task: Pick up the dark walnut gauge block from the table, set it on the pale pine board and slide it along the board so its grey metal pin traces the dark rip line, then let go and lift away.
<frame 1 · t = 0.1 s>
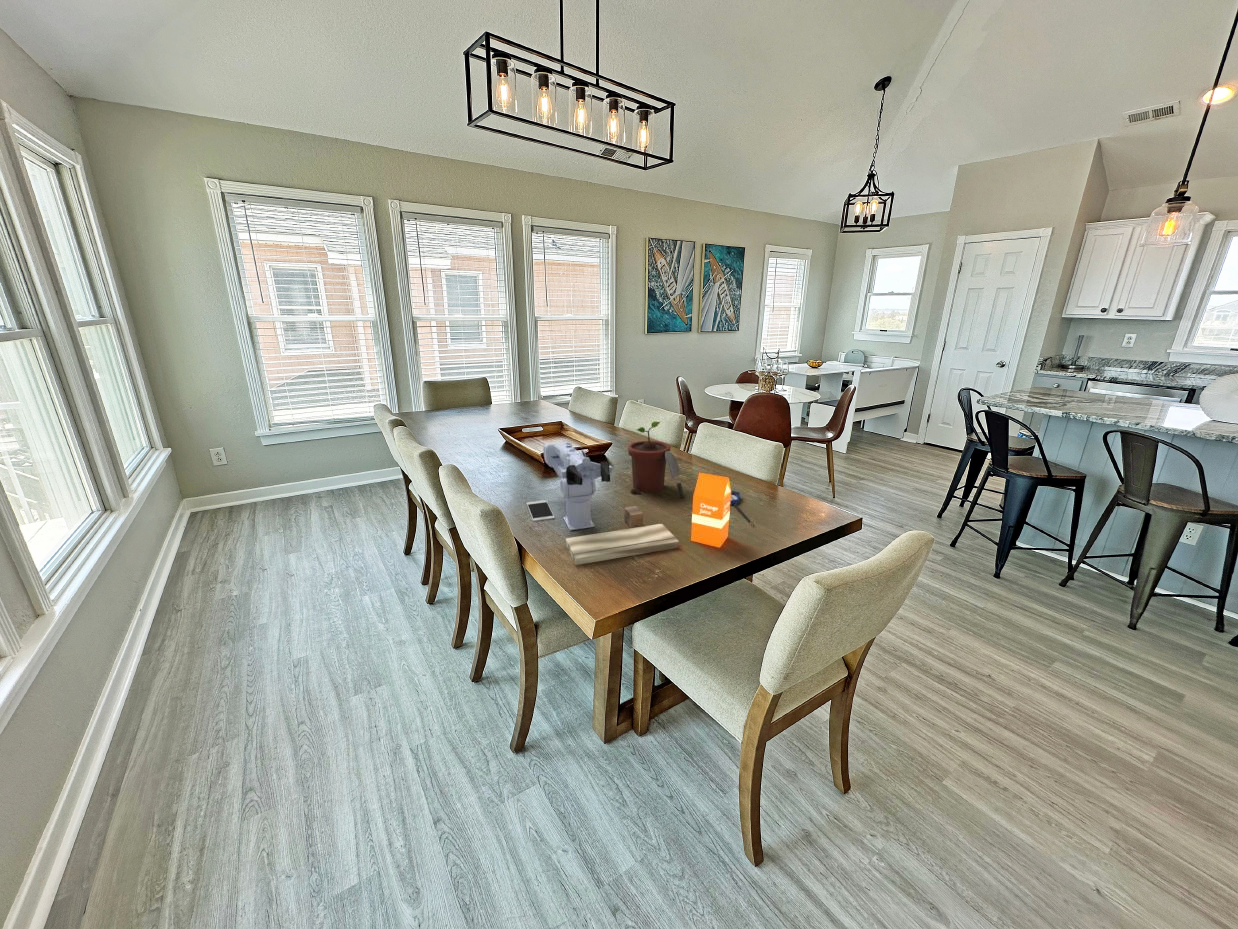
hand: (595, 479, 127), 22 cm above the table, tool horizontal, fingers open, 7 cm apart
pine board: (621, 546, 137), on the table
potted plant: (652, 489, 179), on the table
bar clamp: (738, 514, 159), on the table
orange juice: (709, 539, 141), on the table
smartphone: (540, 512, 161), on the table
gauge block: (633, 525, 150), on the table
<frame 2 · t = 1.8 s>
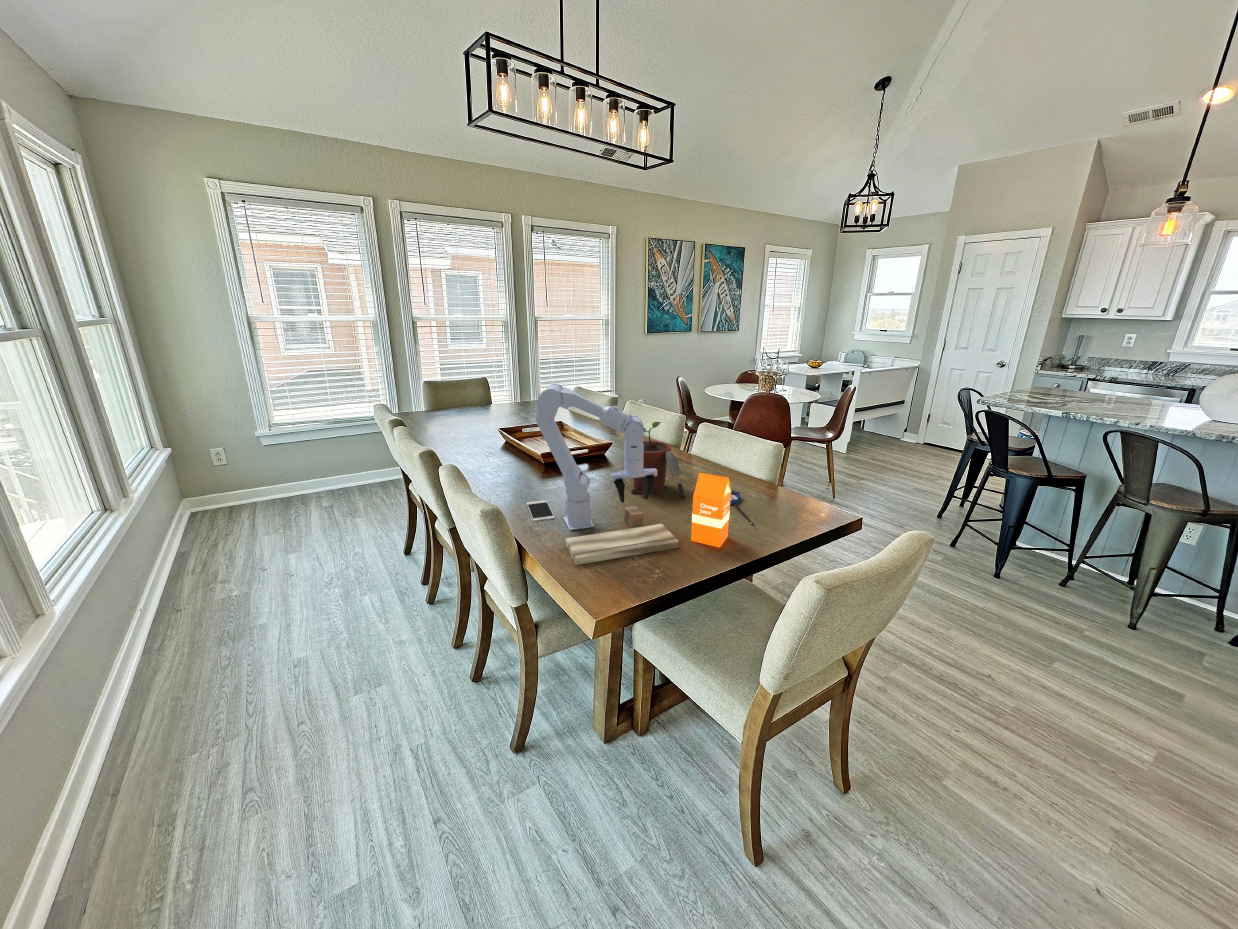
hand: (633, 499, 147), 8 cm above the table, tool pointing down, fingers open, 7 cm apart
nothing on the table moved.
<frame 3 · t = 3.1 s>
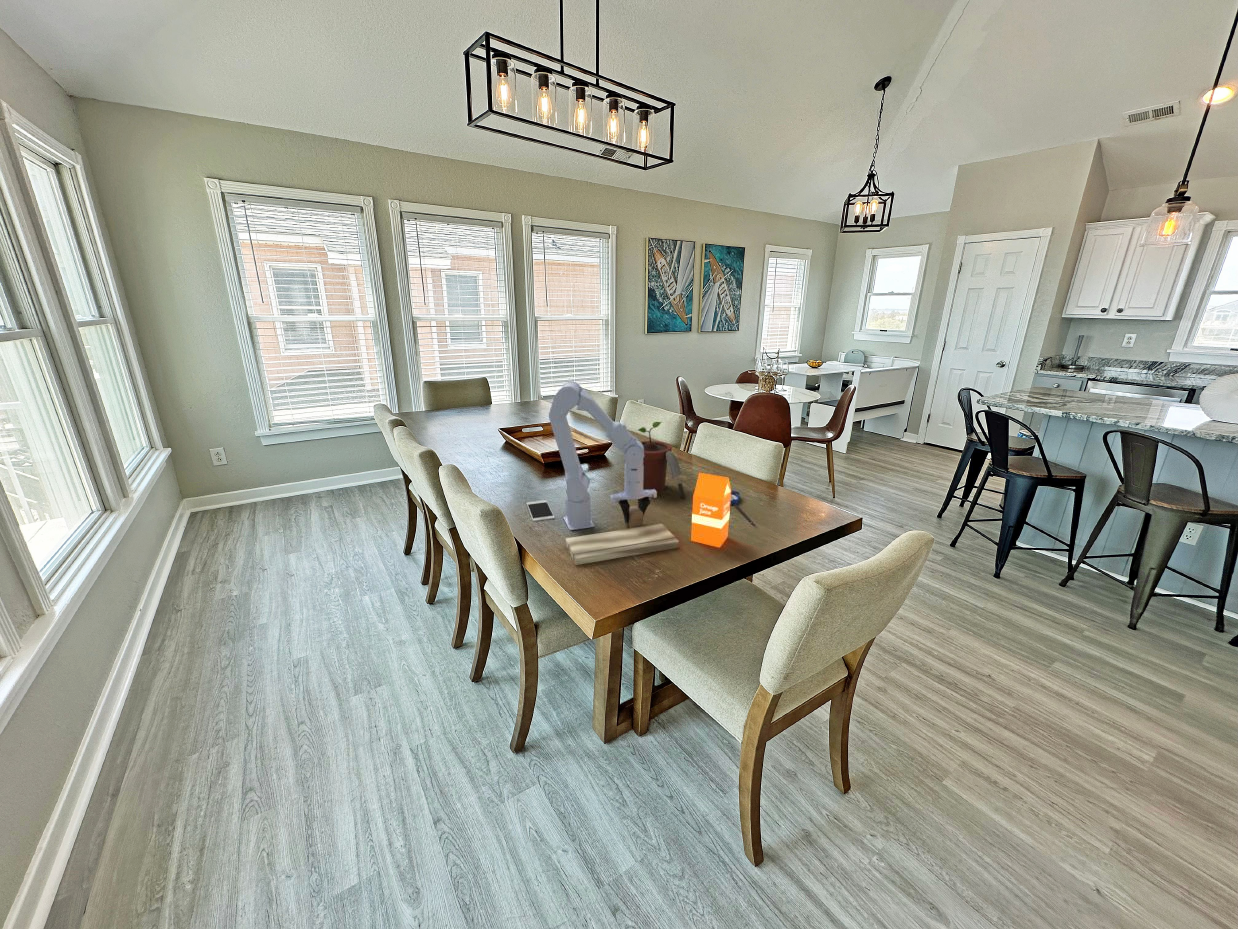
hand: (633, 520, 150), 1 cm above the table, tool pointing down, fingers closed on gauge block, 4 cm apart
gauge block: (633, 524, 150), on the table, touching gripper
everything else where it was.
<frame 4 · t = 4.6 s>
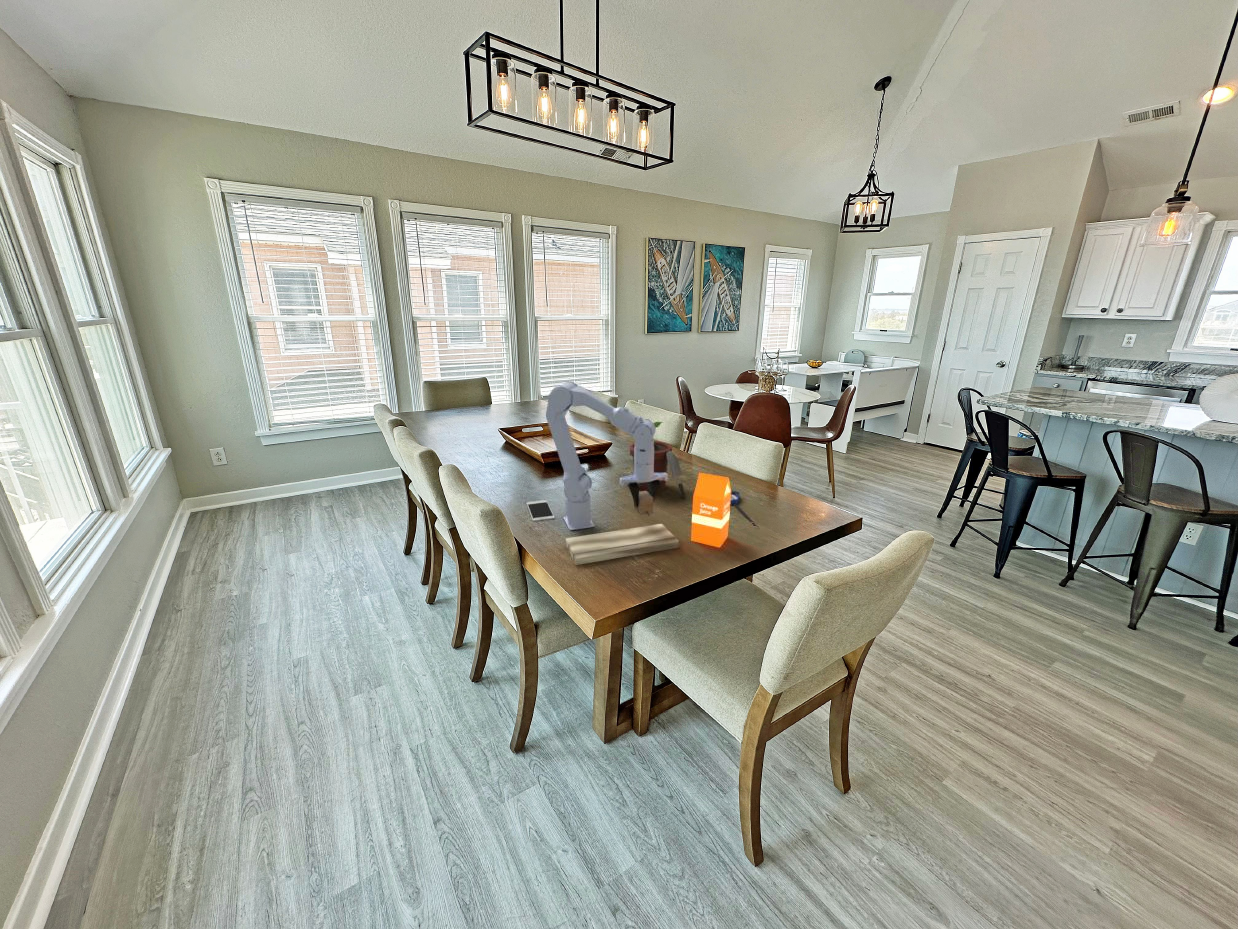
hand: (643, 504, 144), 9 cm above the table, tool pointing down, fingers closed on gauge block, 4 cm apart
gauge block: (643, 510, 144), point 7 cm above the table, touching gripper
everything else where it was.
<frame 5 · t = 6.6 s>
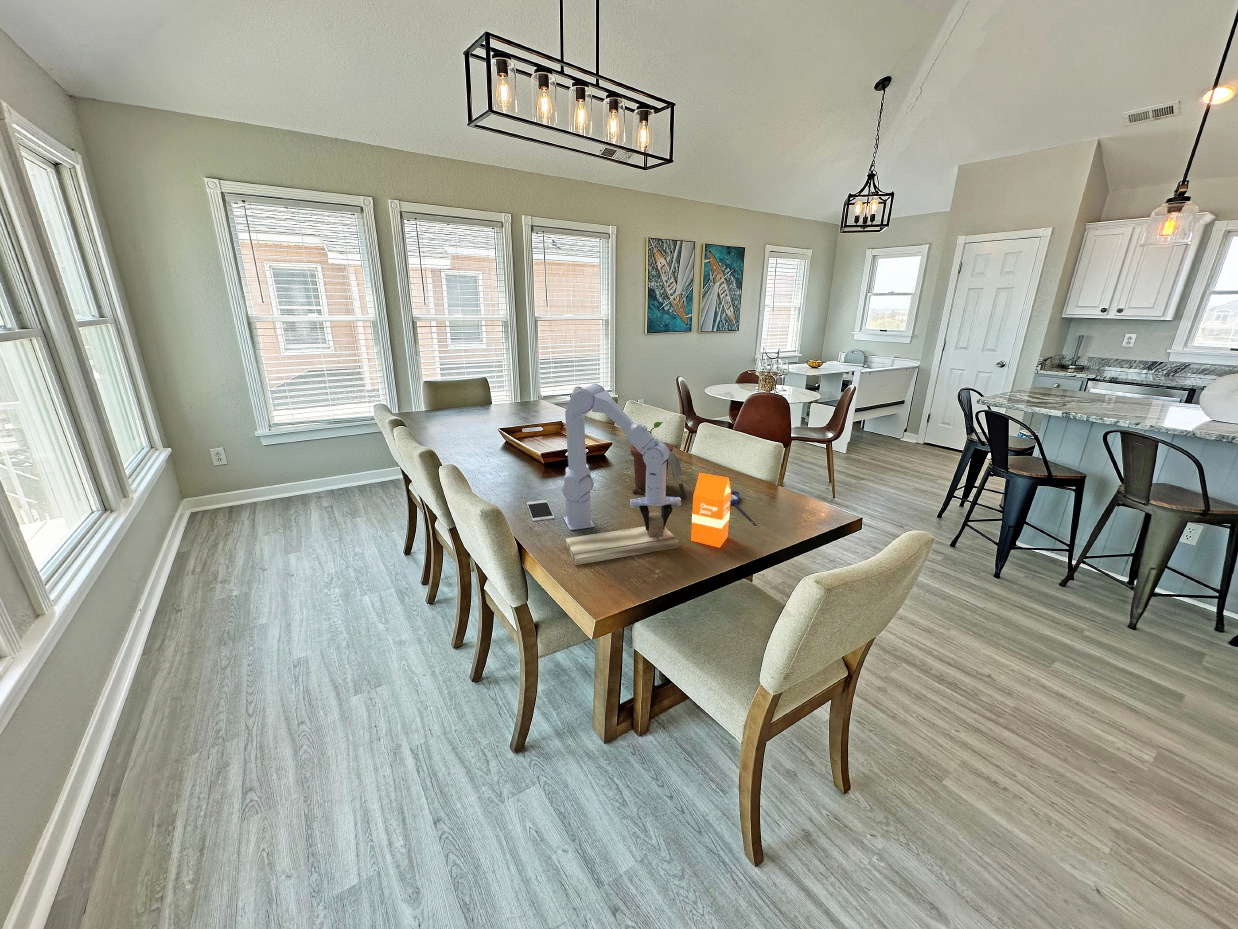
hand: (654, 528, 140), 3 cm above the table, tool pointing down, fingers closed on gauge block, 4 cm apart
gauge block: (654, 532, 141), point 2 cm above the table, touching gripper
everything else where it was.
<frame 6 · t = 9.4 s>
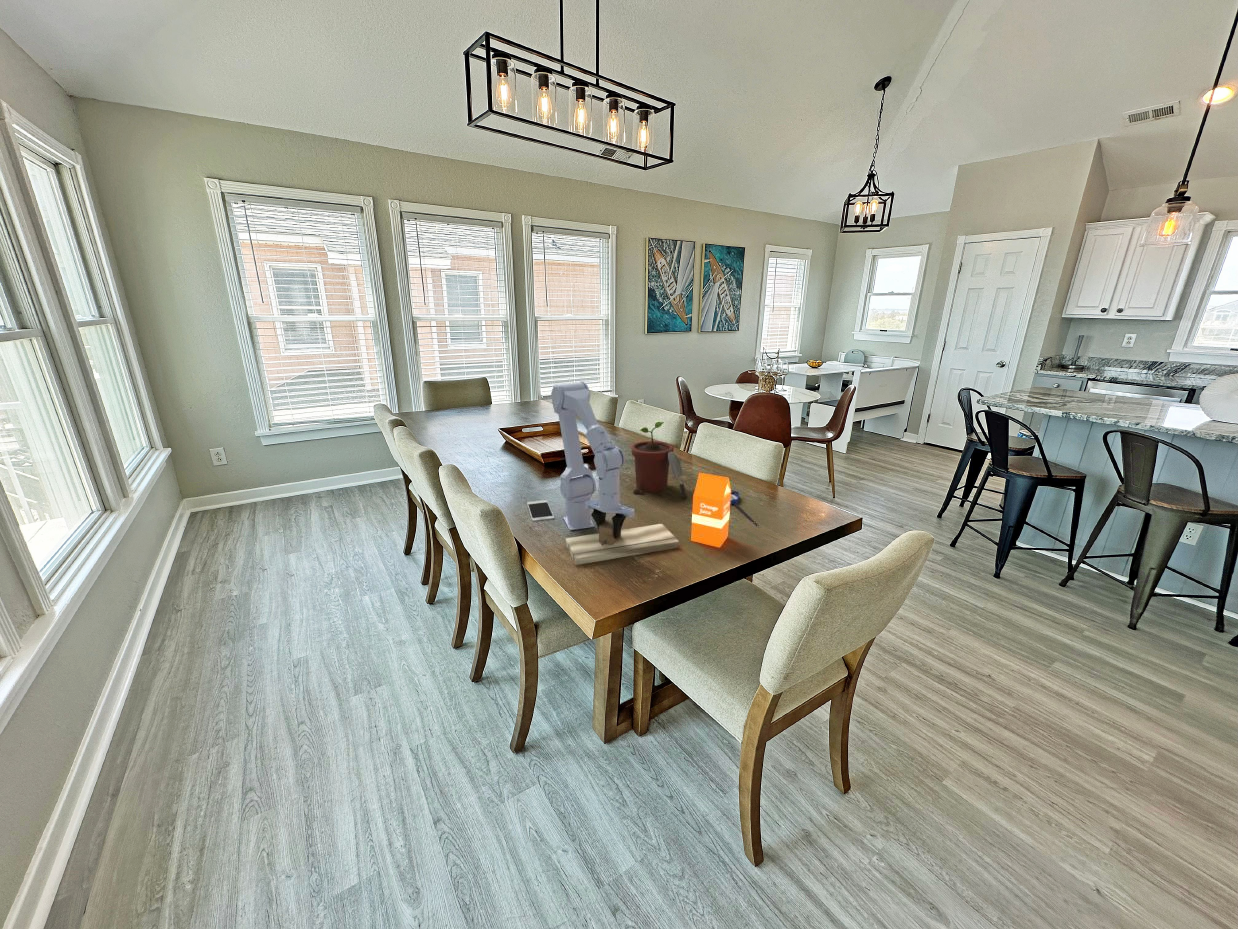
hand: (609, 535, 136), 3 cm above the table, tool pointing down, fingers closed on gauge block, 4 cm apart
gauge block: (610, 539, 137), point 2 cm above the table, touching gripper
when the fingers open (3 cm above the table, at t = 12.2 s): gauge block stays where it is, resting on pine board.
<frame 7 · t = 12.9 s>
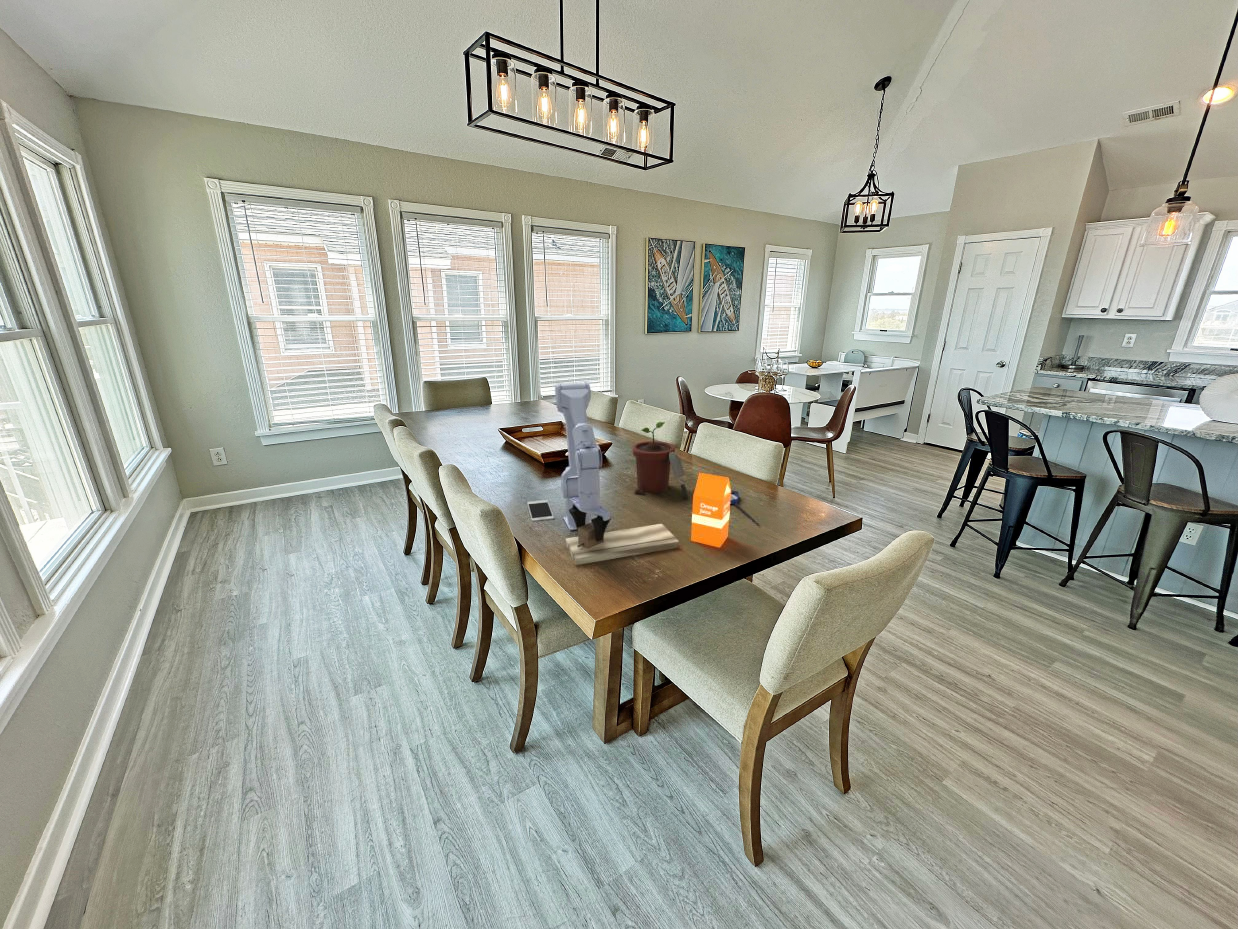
hand: (590, 535, 134), 4 cm above the table, tool pointing down, fingers open, 7 cm apart
gauge block: (591, 542, 135), point 2 cm above the table, touching pine board
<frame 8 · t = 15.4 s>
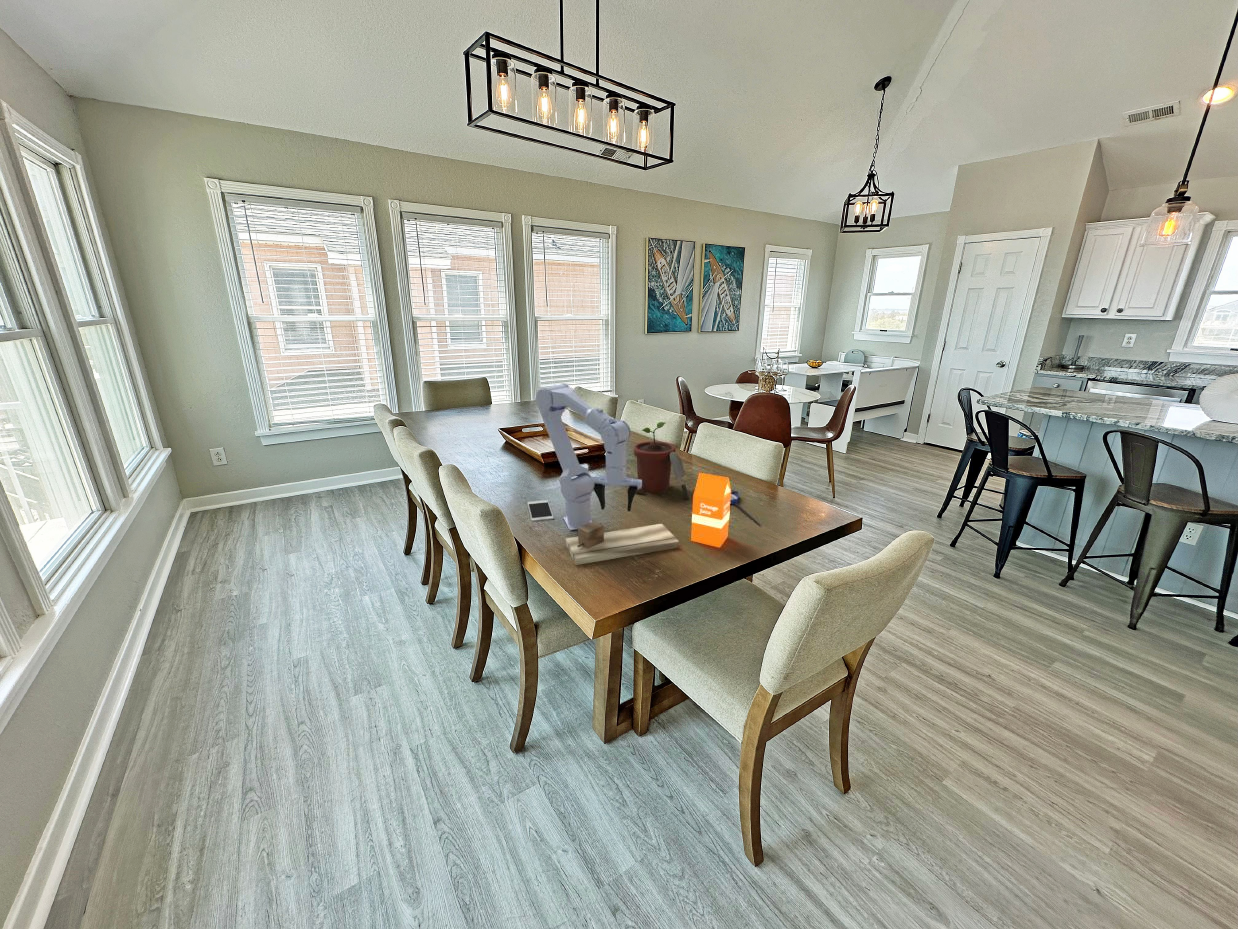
hand: (616, 509, 138), 9 cm above the table, tool pointing down, fingers open, 7 cm apart
at the end: gauge block 0.3 cm from the target spot, point 2.0 cm above the table; gauge block tilted 0°; the gripper is holding nothing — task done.
